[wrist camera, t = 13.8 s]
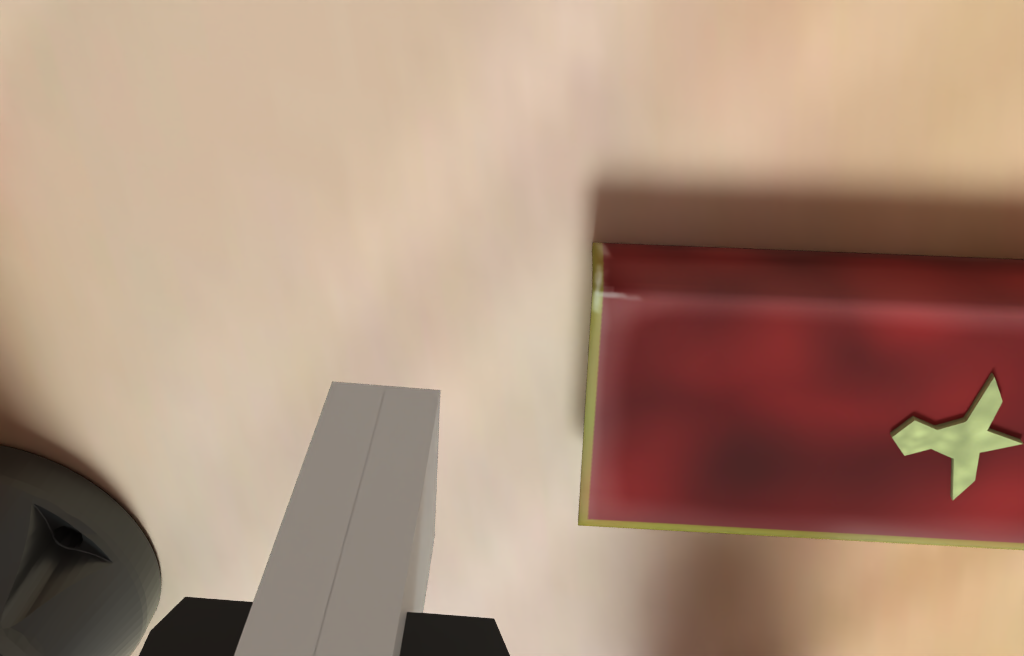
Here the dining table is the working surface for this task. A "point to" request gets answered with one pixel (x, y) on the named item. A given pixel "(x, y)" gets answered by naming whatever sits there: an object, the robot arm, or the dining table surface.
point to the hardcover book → (806, 395)
